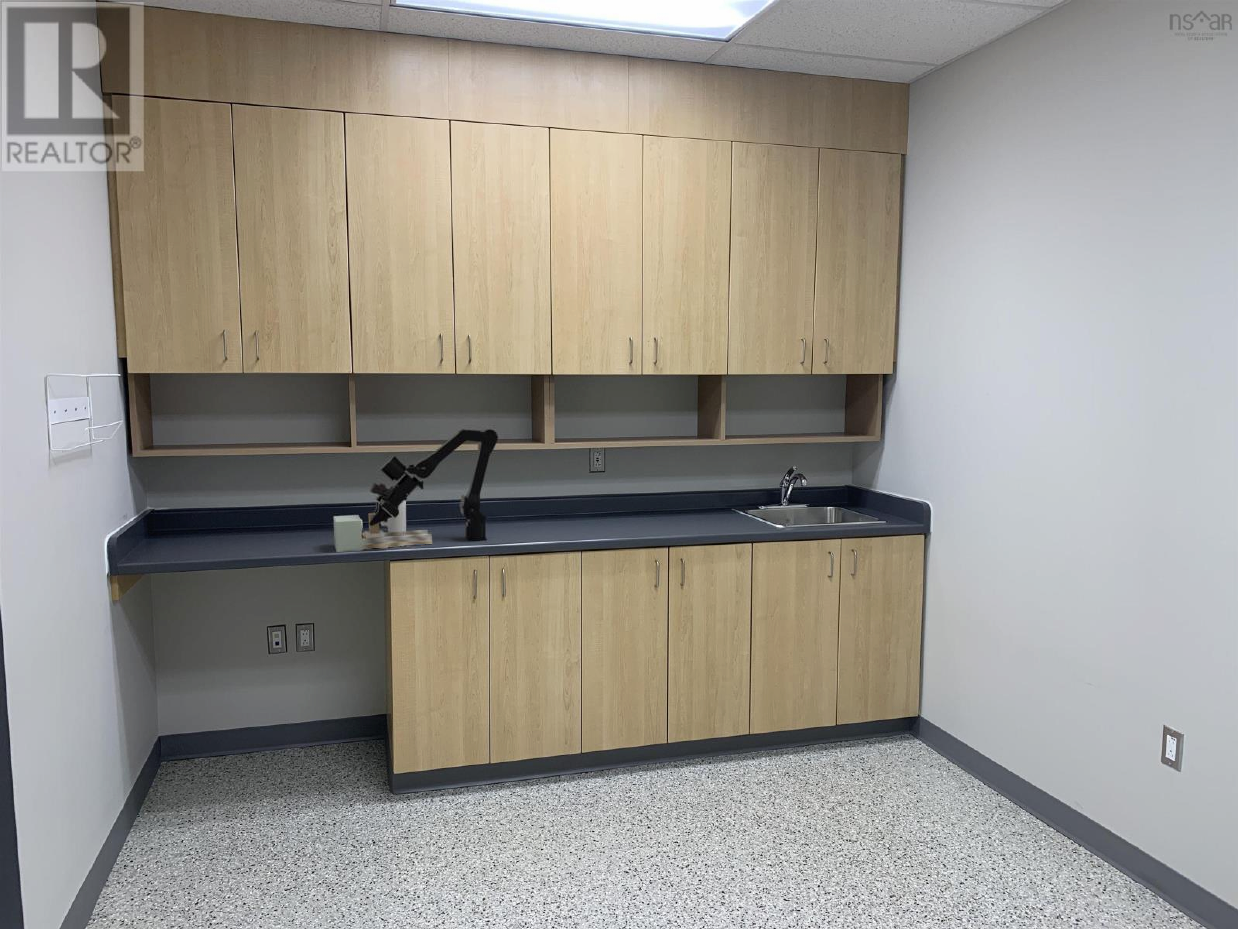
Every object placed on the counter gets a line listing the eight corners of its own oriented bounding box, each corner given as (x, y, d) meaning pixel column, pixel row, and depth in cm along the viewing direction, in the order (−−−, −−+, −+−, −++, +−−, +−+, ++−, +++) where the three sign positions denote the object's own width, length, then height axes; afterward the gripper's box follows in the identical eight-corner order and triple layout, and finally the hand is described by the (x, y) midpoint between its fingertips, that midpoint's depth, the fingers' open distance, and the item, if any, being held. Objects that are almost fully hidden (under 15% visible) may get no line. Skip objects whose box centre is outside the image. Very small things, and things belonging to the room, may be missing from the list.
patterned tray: (427, 539, 294) (427, 529, 293) (432, 544, 284) (432, 534, 284) (359, 544, 285) (359, 534, 285) (362, 549, 276) (361, 539, 276)
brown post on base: (382, 539, 286) (381, 512, 285) (384, 542, 280) (383, 514, 279) (364, 540, 284) (363, 513, 283) (366, 543, 278) (365, 515, 277)
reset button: (364, 540, 283) (364, 532, 283) (365, 543, 279) (365, 535, 278) (346, 541, 281) (346, 534, 281) (347, 544, 276) (347, 536, 276)
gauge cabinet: (360, 543, 286) (359, 514, 285) (363, 550, 275) (362, 520, 274) (334, 545, 283) (333, 516, 282) (336, 552, 272) (335, 522, 271)
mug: (407, 531, 309) (406, 499, 308) (406, 534, 302) (405, 501, 301) (379, 532, 307) (378, 500, 306) (377, 535, 300) (376, 502, 299)
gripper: (381, 471, 290) (349, 504, 287) (387, 477, 273) (353, 512, 270) (405, 492, 293) (373, 525, 291) (412, 499, 276) (379, 535, 273)
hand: (369, 524), depth 281 cm, fingers closed on brown post on base, 3 cm apart
